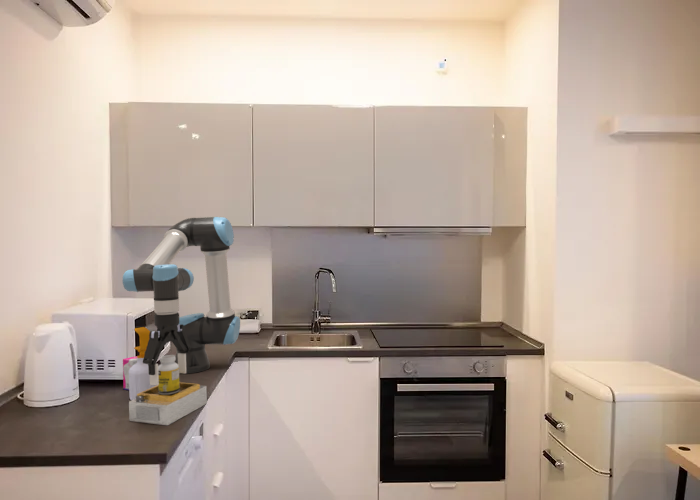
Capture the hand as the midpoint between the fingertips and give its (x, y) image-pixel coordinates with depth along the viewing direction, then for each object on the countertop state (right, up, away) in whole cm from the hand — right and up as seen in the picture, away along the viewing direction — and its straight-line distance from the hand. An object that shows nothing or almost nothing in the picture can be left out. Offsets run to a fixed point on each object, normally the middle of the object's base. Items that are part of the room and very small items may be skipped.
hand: (168, 378), depth 160 cm
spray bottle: (-15, -11, +16) cm, 24 cm away
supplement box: (-23, -11, +27) cm, 37 cm away
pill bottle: (0, -5, 0) cm, 5 cm away
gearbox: (0, -11, 0) cm, 11 cm away
